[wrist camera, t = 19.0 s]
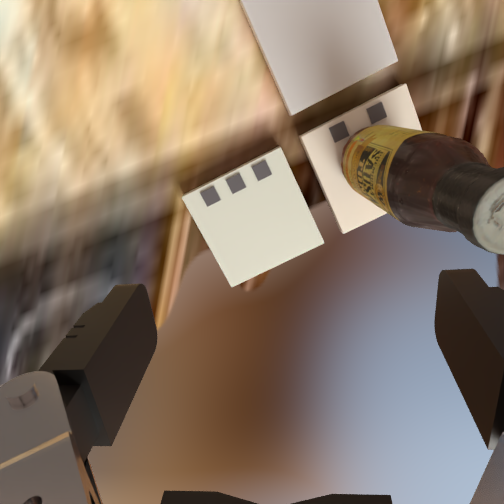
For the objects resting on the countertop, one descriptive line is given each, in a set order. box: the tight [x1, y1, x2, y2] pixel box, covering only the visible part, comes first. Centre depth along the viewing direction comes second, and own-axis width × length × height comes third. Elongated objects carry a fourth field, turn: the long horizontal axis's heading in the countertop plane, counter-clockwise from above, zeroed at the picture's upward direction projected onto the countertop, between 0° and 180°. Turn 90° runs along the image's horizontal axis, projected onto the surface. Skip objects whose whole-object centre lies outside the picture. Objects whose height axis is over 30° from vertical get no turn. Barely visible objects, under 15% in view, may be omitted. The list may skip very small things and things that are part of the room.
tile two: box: [299, 84, 422, 234], centre depth 39 cm, size 10×10×2 cm
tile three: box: [182, 146, 324, 287], centre depth 40 cm, size 10×10×2 cm
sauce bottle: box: [341, 125, 504, 254], centre depth 29 cm, size 7×6×20 cm
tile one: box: [240, 0, 398, 116], centre depth 35 cm, size 10×10×2 cm
